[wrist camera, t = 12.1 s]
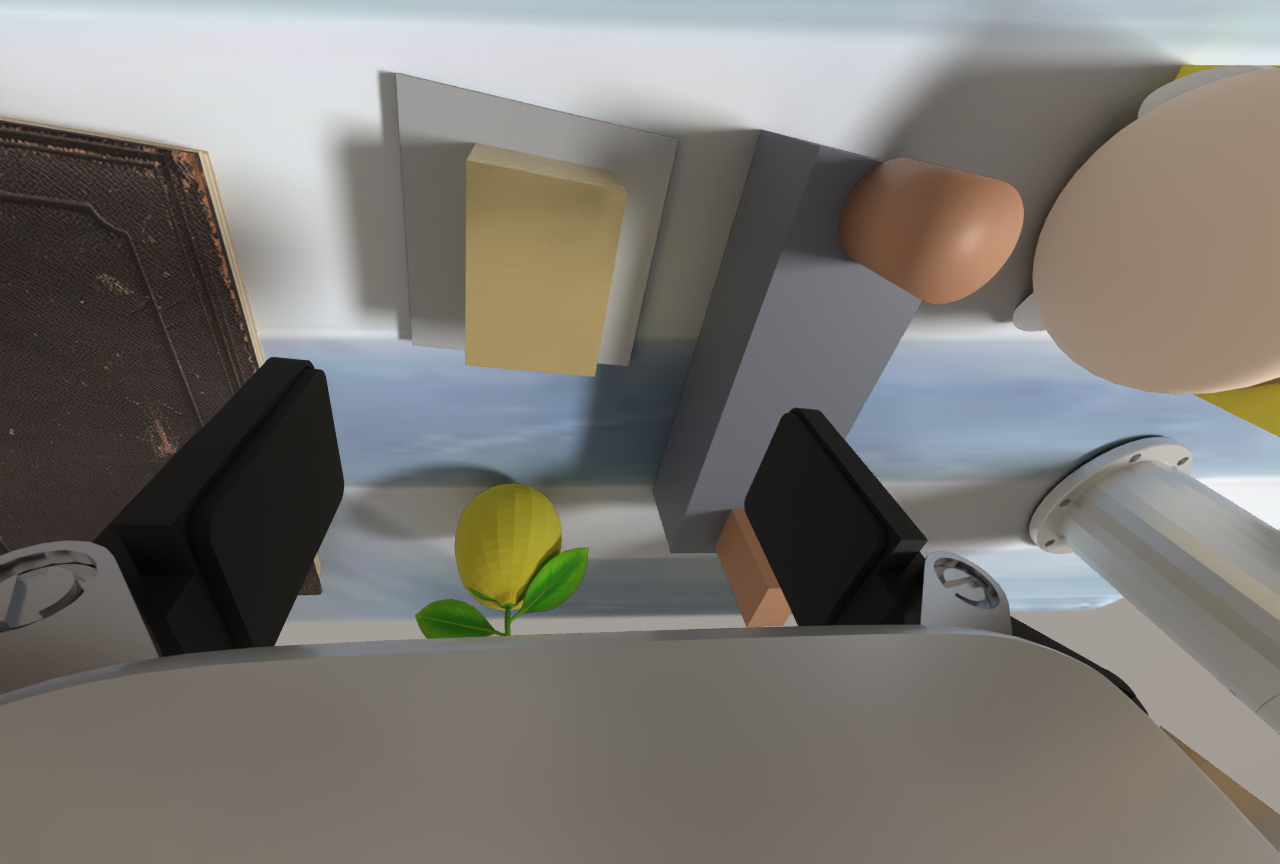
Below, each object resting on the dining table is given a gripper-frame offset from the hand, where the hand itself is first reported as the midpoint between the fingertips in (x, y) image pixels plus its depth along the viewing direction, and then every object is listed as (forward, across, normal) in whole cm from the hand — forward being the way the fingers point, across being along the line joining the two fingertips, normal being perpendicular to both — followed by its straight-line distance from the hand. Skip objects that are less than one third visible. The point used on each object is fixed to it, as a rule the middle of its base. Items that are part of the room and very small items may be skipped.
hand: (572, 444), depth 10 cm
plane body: (+14, -11, +4) cm, 18 cm away
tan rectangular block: (+13, +1, 0) cm, 13 cm away
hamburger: (+14, -26, -6) cm, 30 cm away
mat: (+14, +1, 0) cm, 14 cm away
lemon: (+14, +1, +14) cm, 20 cm away
